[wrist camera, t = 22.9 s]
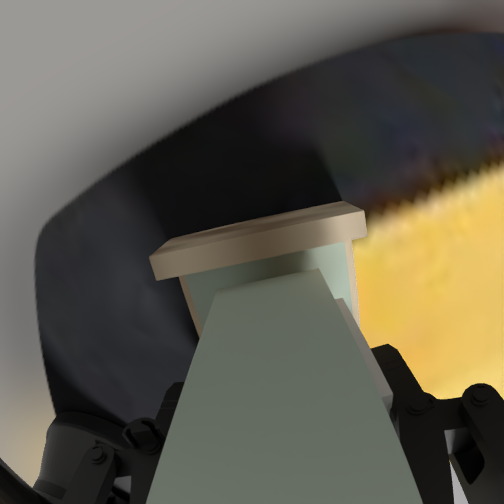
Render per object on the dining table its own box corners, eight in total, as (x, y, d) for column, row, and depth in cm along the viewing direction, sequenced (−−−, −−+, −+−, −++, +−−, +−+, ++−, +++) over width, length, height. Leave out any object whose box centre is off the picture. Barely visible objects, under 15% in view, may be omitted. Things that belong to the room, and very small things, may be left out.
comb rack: (246, 445, 22) (244, 477, 18) (170, 238, 17) (148, 257, 13) (360, 424, 21) (369, 455, 17) (342, 201, 16) (364, 210, 12)
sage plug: (241, 367, 16) (219, 579, 4) (217, 288, 14) (135, 539, 3) (330, 351, 15) (387, 560, 4) (318, 267, 14) (426, 516, 2)
